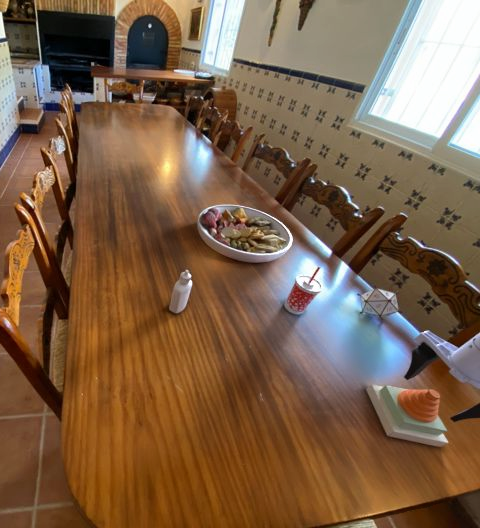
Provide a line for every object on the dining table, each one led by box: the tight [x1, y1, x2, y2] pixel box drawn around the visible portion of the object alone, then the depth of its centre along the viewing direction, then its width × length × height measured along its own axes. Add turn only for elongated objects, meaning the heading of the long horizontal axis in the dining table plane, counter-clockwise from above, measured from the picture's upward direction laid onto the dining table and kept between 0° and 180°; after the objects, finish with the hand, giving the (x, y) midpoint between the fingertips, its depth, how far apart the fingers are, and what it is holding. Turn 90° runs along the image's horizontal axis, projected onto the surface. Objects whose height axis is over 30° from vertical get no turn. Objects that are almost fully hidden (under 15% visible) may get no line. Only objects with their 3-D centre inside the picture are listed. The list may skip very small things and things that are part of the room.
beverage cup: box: [283, 266, 324, 315], centre depth 73 cm, size 6×6×14 cm
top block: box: [380, 385, 448, 435], centre depth 55 cm, size 7×7×2 cm
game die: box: [356, 284, 404, 322], centre depth 75 cm, size 9×8×10 cm
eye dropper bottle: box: [168, 269, 193, 314], centre depth 71 cm, size 4×6×12 cm
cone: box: [397, 388, 441, 423], centre depth 53 cm, size 6×6×5 cm
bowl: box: [196, 204, 293, 264], centre depth 98 cm, size 30×30×8 cm
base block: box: [365, 384, 449, 448], centre depth 56 cm, size 9×9×2 cm
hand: (430, 396), depth 52 cm, fingers open, 7 cm apart
